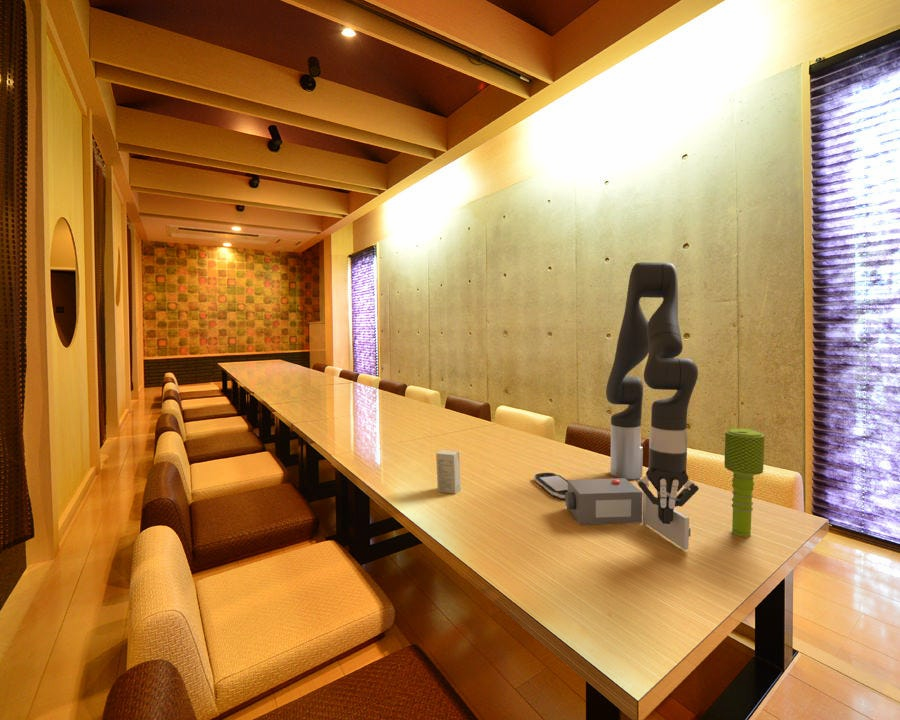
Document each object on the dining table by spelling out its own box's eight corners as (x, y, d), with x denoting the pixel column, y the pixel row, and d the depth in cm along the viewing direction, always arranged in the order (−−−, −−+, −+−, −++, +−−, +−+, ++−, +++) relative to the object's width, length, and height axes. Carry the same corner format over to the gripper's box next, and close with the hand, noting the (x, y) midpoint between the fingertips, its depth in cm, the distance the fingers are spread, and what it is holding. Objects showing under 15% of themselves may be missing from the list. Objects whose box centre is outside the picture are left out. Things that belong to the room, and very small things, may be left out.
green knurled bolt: (762, 544, 96) (766, 435, 95) (722, 536, 100) (725, 432, 99) (759, 529, 103) (762, 428, 101) (722, 522, 107) (725, 425, 105)
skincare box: (461, 489, 132) (460, 451, 131) (455, 494, 128) (454, 455, 127) (442, 486, 135) (441, 449, 134) (436, 491, 131) (435, 452, 130)
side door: (684, 551, 93) (684, 515, 93) (641, 522, 107) (642, 491, 107) (691, 550, 94) (692, 514, 93) (647, 522, 108) (648, 490, 107)
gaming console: (530, 480, 141) (530, 472, 141) (555, 477, 143) (555, 470, 143) (557, 503, 122) (557, 494, 122) (586, 499, 124) (586, 491, 124)
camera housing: (561, 508, 117) (561, 477, 117) (624, 506, 118) (625, 475, 117) (573, 525, 107) (574, 491, 107) (642, 523, 108) (643, 489, 107)
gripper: (639, 450, 92) (637, 527, 94) (706, 453, 90) (703, 533, 91) (632, 441, 100) (630, 513, 101) (694, 444, 97) (691, 517, 98)
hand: (665, 522), depth 96 cm, fingers closed
